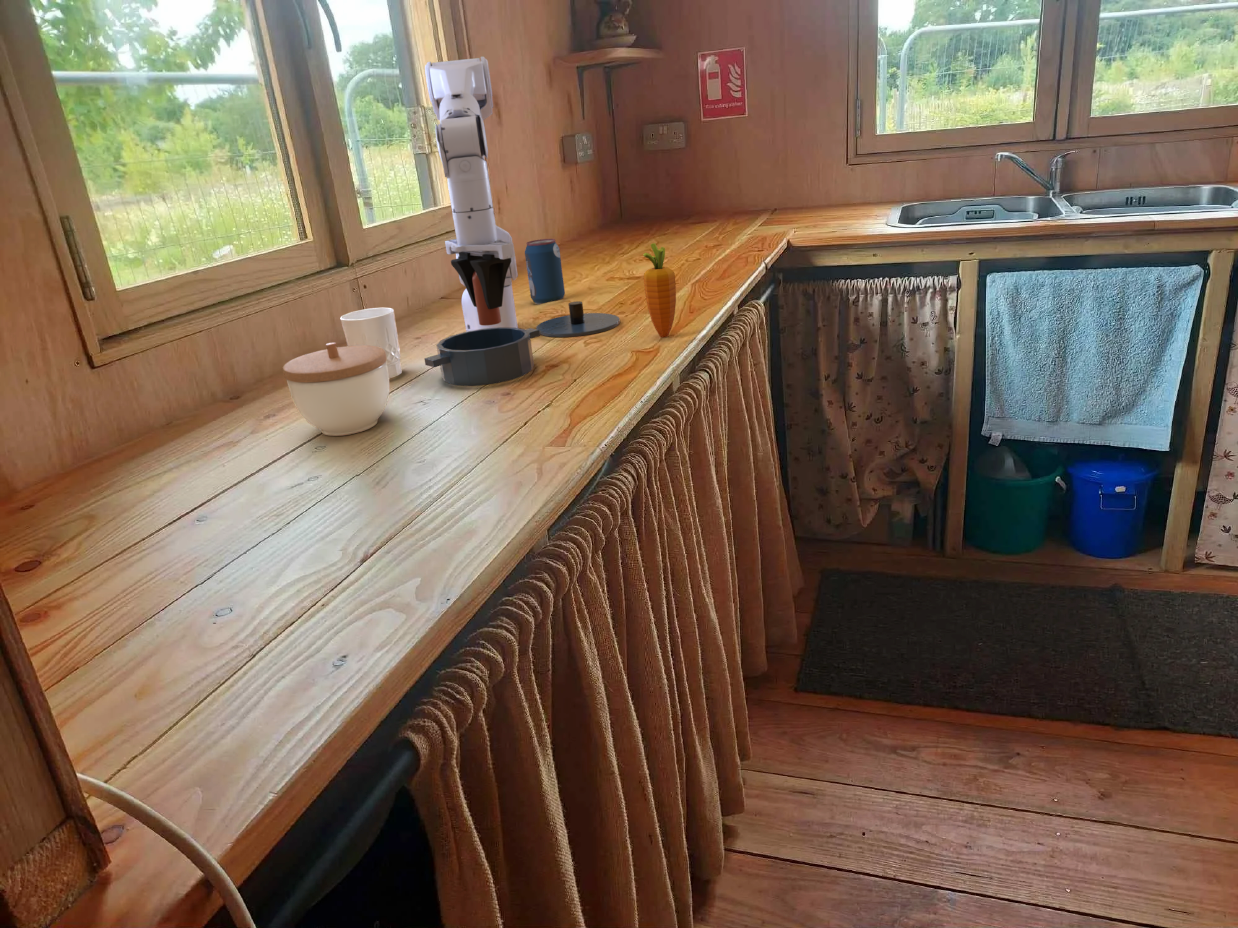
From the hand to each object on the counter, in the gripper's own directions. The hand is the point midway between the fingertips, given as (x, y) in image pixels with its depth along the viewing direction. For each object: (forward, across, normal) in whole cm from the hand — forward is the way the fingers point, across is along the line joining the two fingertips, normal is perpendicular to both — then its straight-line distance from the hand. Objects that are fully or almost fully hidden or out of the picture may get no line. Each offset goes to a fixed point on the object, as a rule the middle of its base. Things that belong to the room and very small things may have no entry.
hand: (487, 306), depth 126 cm
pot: (+10, 0, -1) cm, 10 cm away
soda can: (+10, -35, +36) cm, 51 cm away
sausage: (+2, 0, 0) cm, 2 cm away
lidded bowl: (+10, +3, -25) cm, 27 cm away
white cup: (+10, -15, -11) cm, 22 cm away
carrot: (+10, +9, +26) cm, 29 cm away
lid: (+10, -10, +24) cm, 27 cm away
